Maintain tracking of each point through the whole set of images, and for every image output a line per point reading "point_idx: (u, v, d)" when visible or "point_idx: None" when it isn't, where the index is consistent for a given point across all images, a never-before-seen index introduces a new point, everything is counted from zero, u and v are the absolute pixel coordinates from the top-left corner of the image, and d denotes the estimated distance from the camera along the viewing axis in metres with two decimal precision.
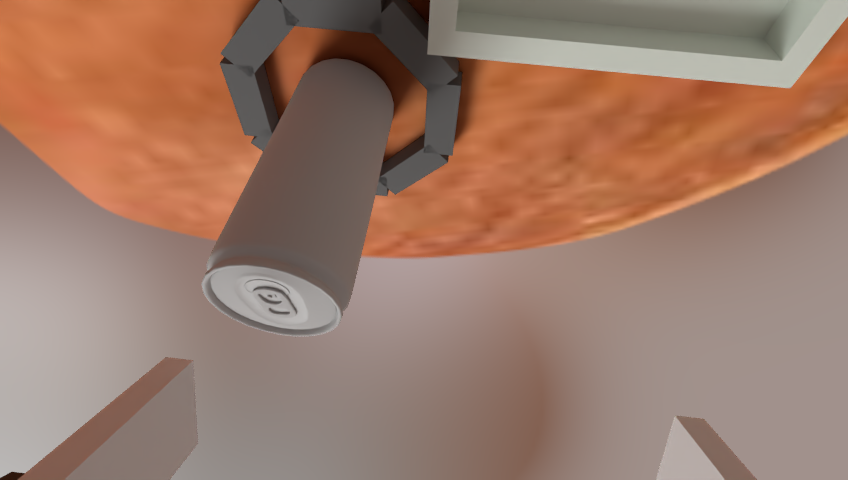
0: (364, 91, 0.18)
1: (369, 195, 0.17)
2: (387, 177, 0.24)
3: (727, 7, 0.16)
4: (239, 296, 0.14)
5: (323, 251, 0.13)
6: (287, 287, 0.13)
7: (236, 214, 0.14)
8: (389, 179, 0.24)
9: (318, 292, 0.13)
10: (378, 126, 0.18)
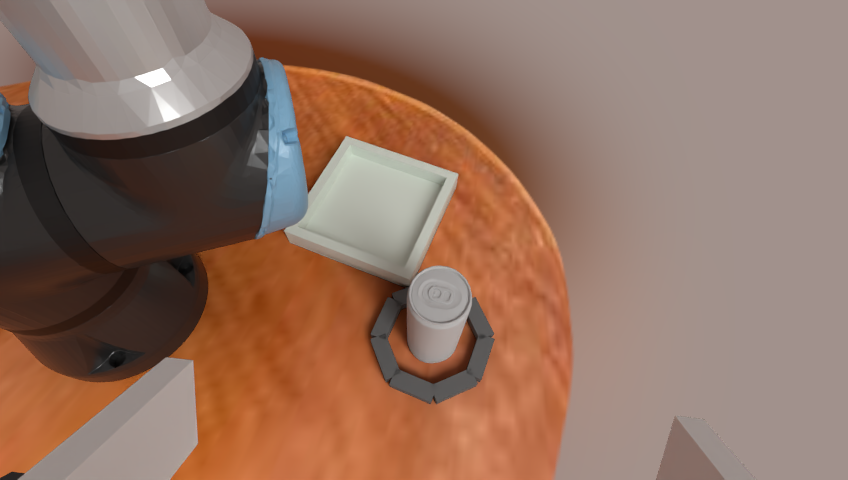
0: None
1: None
2: (479, 332, 0.40)
3: (431, 196, 0.48)
4: (432, 307, 0.30)
5: None
6: (430, 282, 0.31)
7: (407, 311, 0.32)
8: (481, 332, 0.40)
9: (436, 271, 0.31)
10: None
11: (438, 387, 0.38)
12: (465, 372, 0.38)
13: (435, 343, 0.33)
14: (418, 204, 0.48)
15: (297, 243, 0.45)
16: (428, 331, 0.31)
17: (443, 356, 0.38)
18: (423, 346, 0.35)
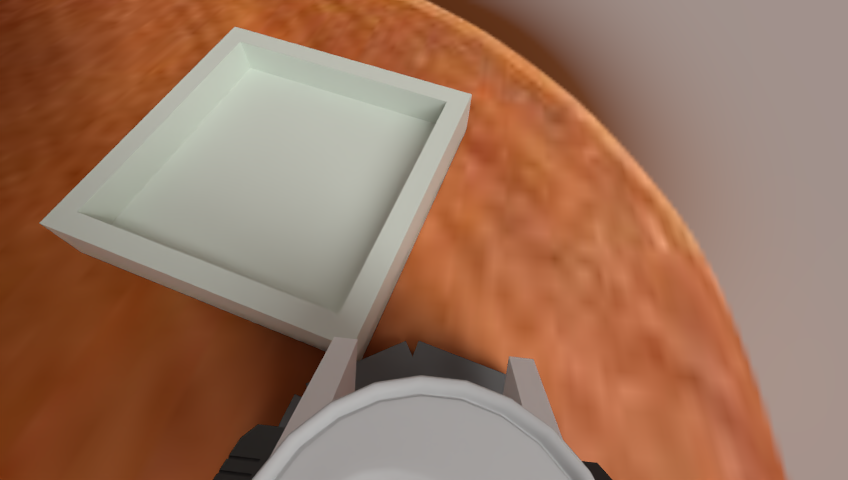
0: None
1: None
2: None
3: (413, 146, 0.22)
4: None
5: None
6: None
7: None
8: None
9: (403, 412, 0.05)
10: None
11: None
12: None
13: None
14: (384, 162, 0.21)
15: (91, 253, 0.19)
16: None
17: None
18: None
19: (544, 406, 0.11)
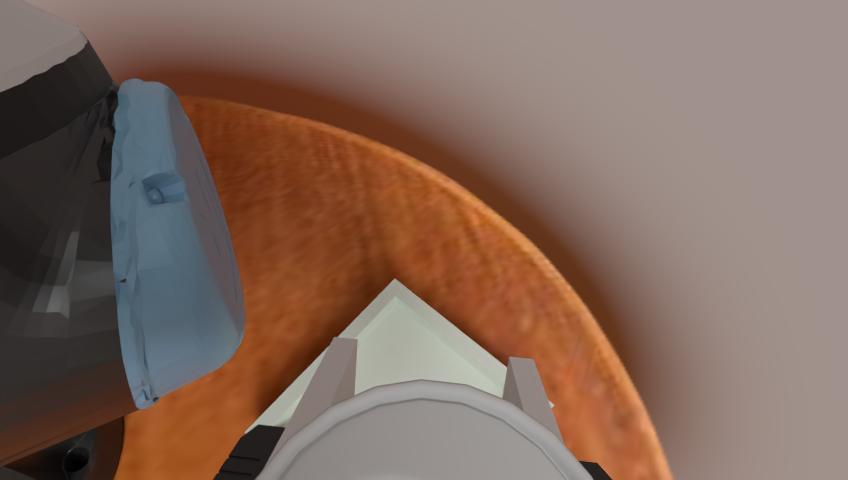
0: None
1: None
2: None
3: None
4: None
5: None
6: None
7: None
8: None
9: (404, 417, 0.05)
10: None
11: None
12: None
13: None
14: None
15: None
16: None
17: None
18: None
19: (544, 406, 0.11)
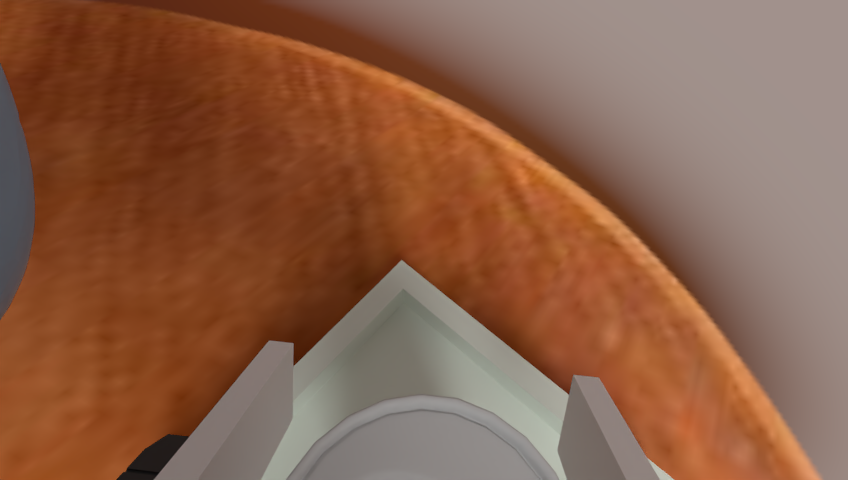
0: None
1: None
2: None
3: None
4: None
5: None
6: None
7: None
8: None
9: (406, 423, 0.07)
10: None
11: None
12: None
13: None
14: None
15: None
16: None
17: None
18: None
19: (625, 432, 0.10)
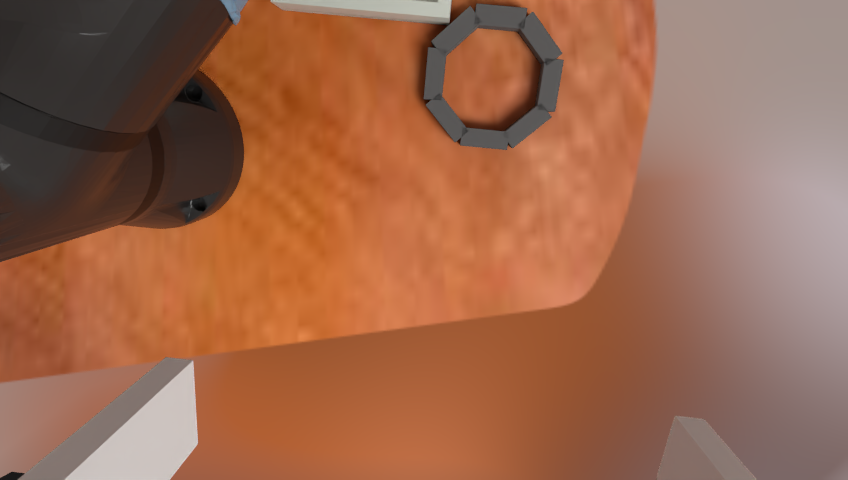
0: None
1: None
2: (545, 57, 0.34)
3: None
4: None
5: None
6: None
7: None
8: (547, 56, 0.34)
9: None
10: None
11: (511, 133, 0.36)
12: (536, 109, 0.35)
13: None
14: None
15: (292, 9, 0.35)
16: None
17: None
18: None
19: None
